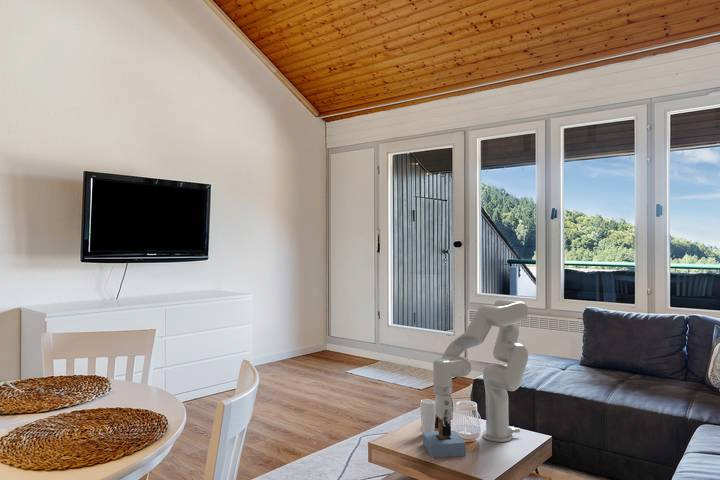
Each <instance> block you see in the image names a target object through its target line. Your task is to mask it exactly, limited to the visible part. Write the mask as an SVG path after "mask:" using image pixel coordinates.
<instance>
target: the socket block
mask: <svg viewBox="0 0 720 480" xmlns="http://www.w3.org/2000/svg"><path fill="white" fill-rule="evenodd" d="M448 439H449V440H439V431H434V432H423V434H422V445H423V447H424V448H425V450H426V451H427V453H428V455H429V456H430V457H431V458H443V457H462V456H463V457H464V456H466V454H467V451H466V449H467V446H466V445H467V444H466V442H465V440H464V439H463V438H462V437H461V436H460V435H459V433H458V432H457V431H456V430H451V436H448Z"/></svg>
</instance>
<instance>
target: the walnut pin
mask: <svg viewBox="0 0 720 480" xmlns="http://www.w3.org/2000/svg"><path fill="white" fill-rule="evenodd" d="M445 422H446V421H445ZM443 426H444V425H443V420H441V419H440V418H439V417H438V428H437V429H438V432H439V440H449V439H448V436H443Z"/></svg>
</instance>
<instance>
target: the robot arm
mask: <svg viewBox="0 0 720 480" xmlns="http://www.w3.org/2000/svg"><path fill="white" fill-rule="evenodd" d="M528 315H529V307H528V305H527V304H526V303H525V302H523V301H521V300H511V299H503V298H502V299H501V298H500V299H497V300H495V302H494V303H493V305H490V304H484V305H480V307H479V308H478V309H477V311H476V312H475V314H474V316H473V317H472V319H471V321H470V323H469V325H468V326H467V328H466V329H465V331H464V332H463V333H462V334H461V335H459V336H458V337H457V338H455V339H454V340H453V341H451V342H450V344H448V346H447V348H446V349H445V351H444V353H443V354H442V356H441V358H436V359H435V360H434V361H433V364H432V365H433V367H432V369H433V370H432V371H433V394H434V395H435V397H434V398H435V400H434V401H435V411H436V426H435V427H436V429H438V417H439V418H440V419H441V420H443V425H444V426H443V436H451V431H452V429H451V428H452V421H453V419H454V413H453V411H454V410H453V401H452V395H453V377H454V378H463V377H464V378H465V377H466V376H468V375H470V373H471V371H472V365H471V363H470V361H469V360H467V359H466V358H462V357H460V356H461V355H462V354H463V353H464V352H465V351H466V350H469V349H470V348H473V347H477V346H480V345H481V344H483V343H484V342H485V339H486V338H487V336H488V334H489V332H490V331H491V329H492V327H495V328H496V327H498V328H499V330H498V333H497V338H496V341H495V343H494V346H493V352H492V355H493V358H494V359H496V360H497V361H498V362H501V363H505V364H507V365H506V366H505V365H502V364H500V363H489V364H487V365H486V366H485V367H484V368H483V372H482V380H483V383H484V389H485V420H486V421H485V422H486V424H485V430H484V431H483V432H482V438H484V440H488V441H491V442H495V443H507V442H510V441H512V440H513V437H514V436H513V433H515V434H519V433H520V432H521V431H520V427H515V426H509V425H510V424H509V423H510V422H509V421H510V420H509V395H508V394H509V393H508V392H516V390H518V389H519V388H520V386H521V384H522V382H523V378H524V375H525V371H526V368H527V364H528V360H529V352H528V349H527V348H526V346H525V345H523V344H521V343H519V342H518V339H519V335H520V327H519V324H518V323H521V322H522V321H524V320H525V319H526V318H527V317H528ZM445 421H446V422H445Z"/></svg>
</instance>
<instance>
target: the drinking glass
mask: <svg viewBox="0 0 720 480" xmlns="http://www.w3.org/2000/svg"><path fill="white" fill-rule="evenodd" d="M419 403H420V404H419V407H420V408H419V409H420V419H421V422H420V423H421V431H422V432H421V433H422V435H423V432H435V427H436V426H435V415H436V411H435V400H434V399H431V398H430V399H429V398H426V399H421V400H420V402H419Z"/></svg>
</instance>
